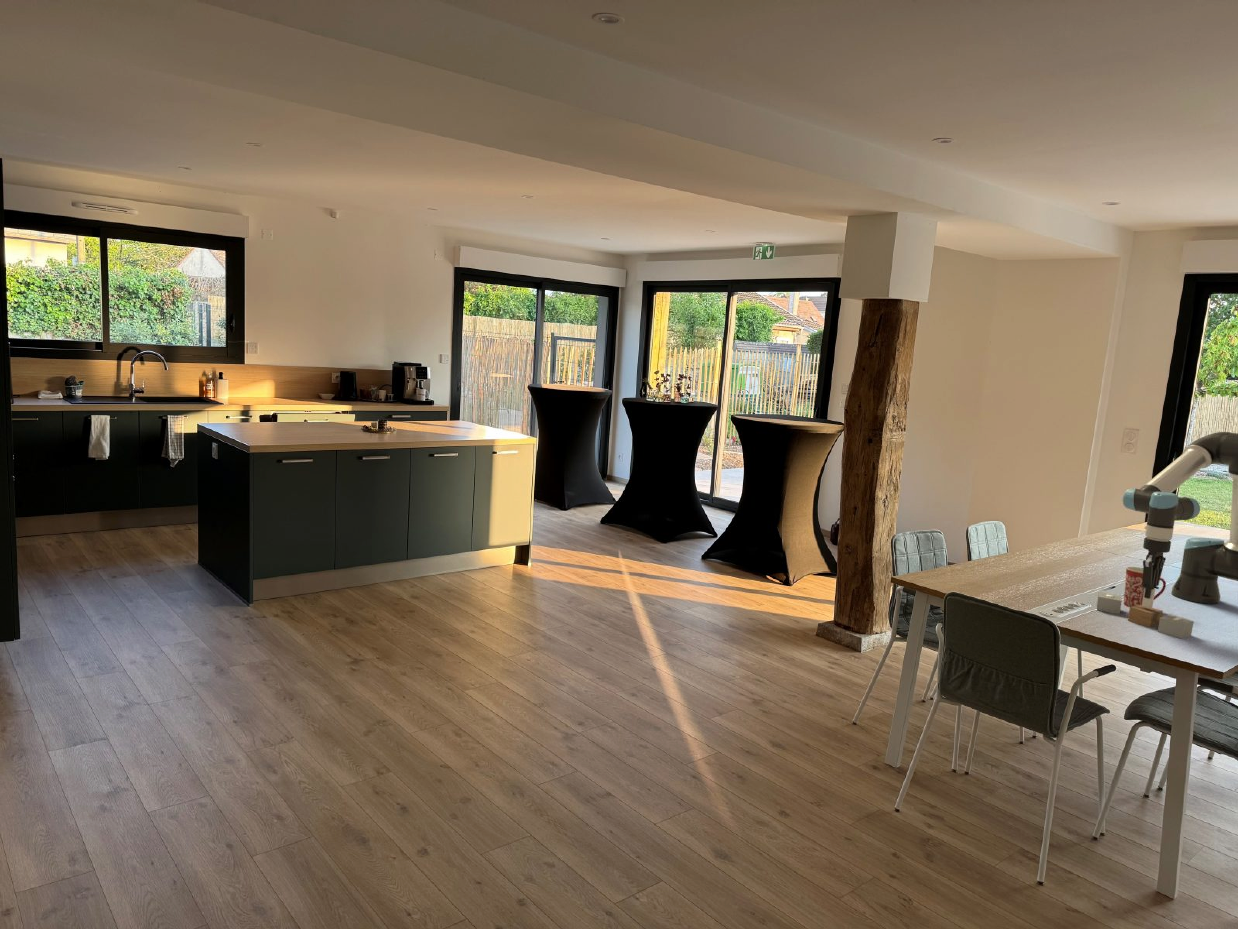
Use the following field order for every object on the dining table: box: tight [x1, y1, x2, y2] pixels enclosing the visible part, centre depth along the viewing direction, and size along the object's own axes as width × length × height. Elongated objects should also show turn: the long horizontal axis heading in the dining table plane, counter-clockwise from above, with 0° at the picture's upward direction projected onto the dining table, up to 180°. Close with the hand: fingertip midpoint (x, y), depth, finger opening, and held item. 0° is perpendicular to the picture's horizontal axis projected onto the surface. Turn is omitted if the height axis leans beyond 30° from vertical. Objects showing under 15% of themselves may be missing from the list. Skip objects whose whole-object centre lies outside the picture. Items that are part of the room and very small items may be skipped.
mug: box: [1123, 566, 1167, 608], centre depth 295 cm, size 13×9×14 cm
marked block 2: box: [1157, 614, 1194, 639], centre depth 268 cm, size 7×7×5 cm
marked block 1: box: [1095, 591, 1123, 615], centre depth 290 cm, size 7×7×5 cm
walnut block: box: [1127, 605, 1164, 628], centre depth 278 cm, size 7×7×5 cm
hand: (1147, 607), depth 278 cm, fingers closed
